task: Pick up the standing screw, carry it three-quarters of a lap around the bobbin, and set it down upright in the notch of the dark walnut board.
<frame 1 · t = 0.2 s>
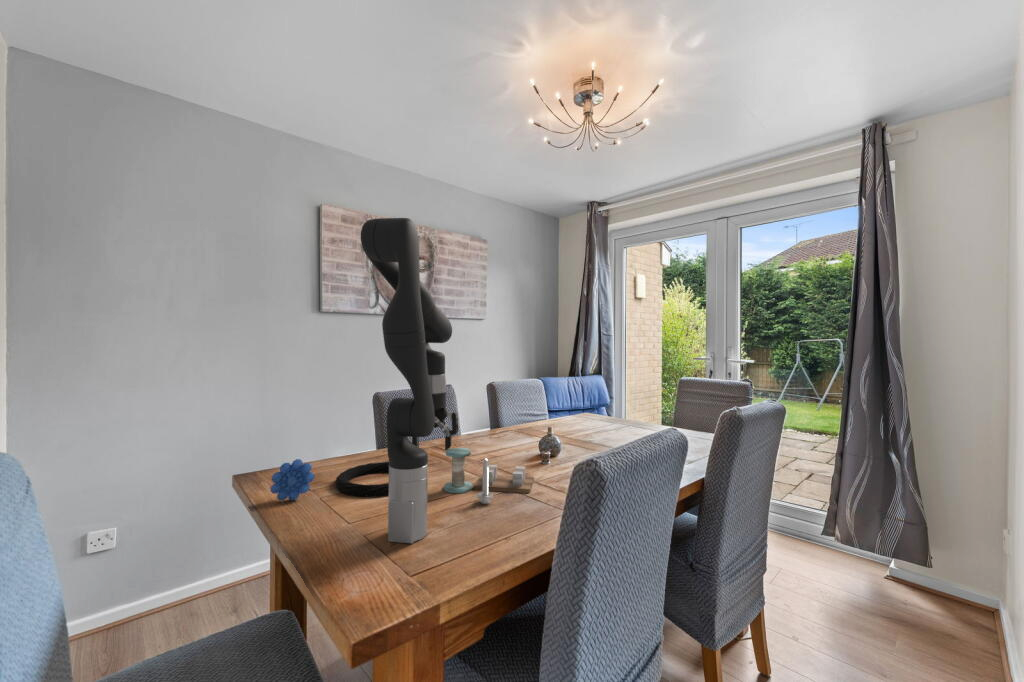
hand: (431, 448, 121), 18 cm above the table, tool pointing down, fingers open, 8 cm apart
bobbin: (458, 488, 141), on the table
blue flower: (293, 499, 130), on the table
notch board: (504, 485, 144), on the table
cable lock: (381, 483, 147), on the table
screw: (485, 503, 129), on the table
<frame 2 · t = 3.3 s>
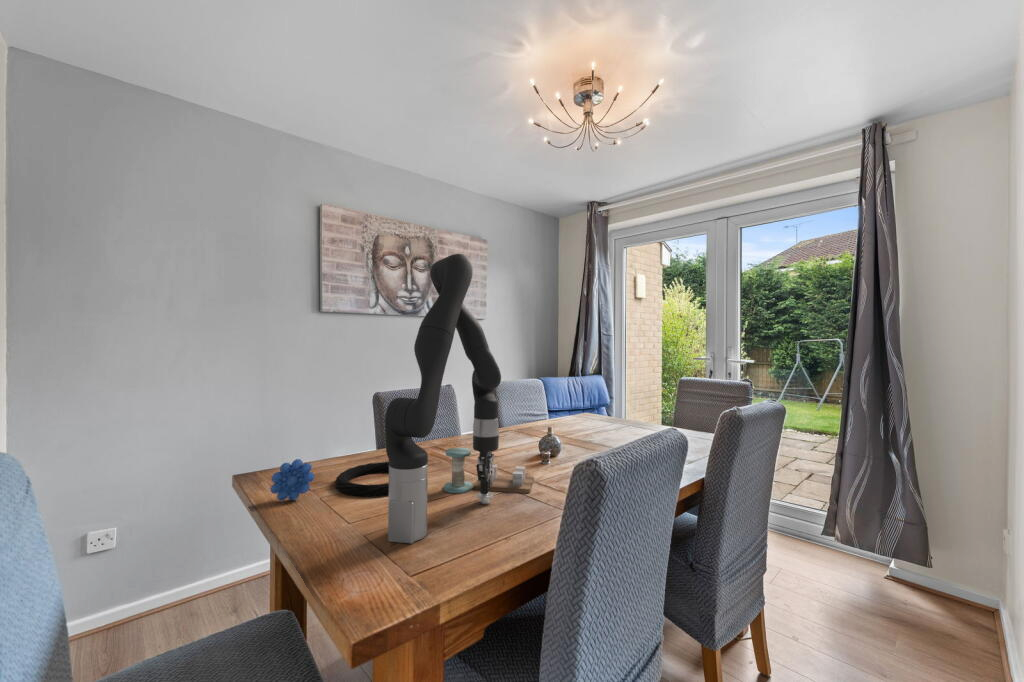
hand: (485, 491, 129), 3 cm above the table, tool pointing down, fingers closed on screw, 2 cm apart
screw: (485, 503, 129), on the table, touching gripper
everything else where it was.
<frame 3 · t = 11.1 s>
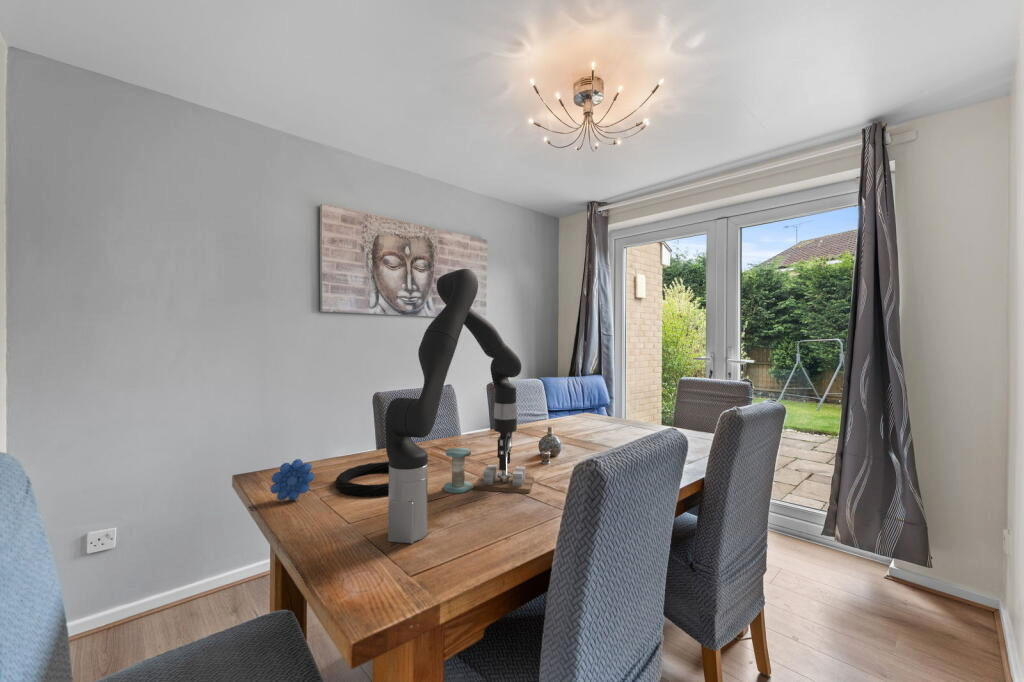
hand: (504, 466, 144), 6 cm above the table, tool pointing down, fingers open, 7 cm apart
screw: (504, 482, 144), point 1 cm above the table, touching notch board
everything else where it was.
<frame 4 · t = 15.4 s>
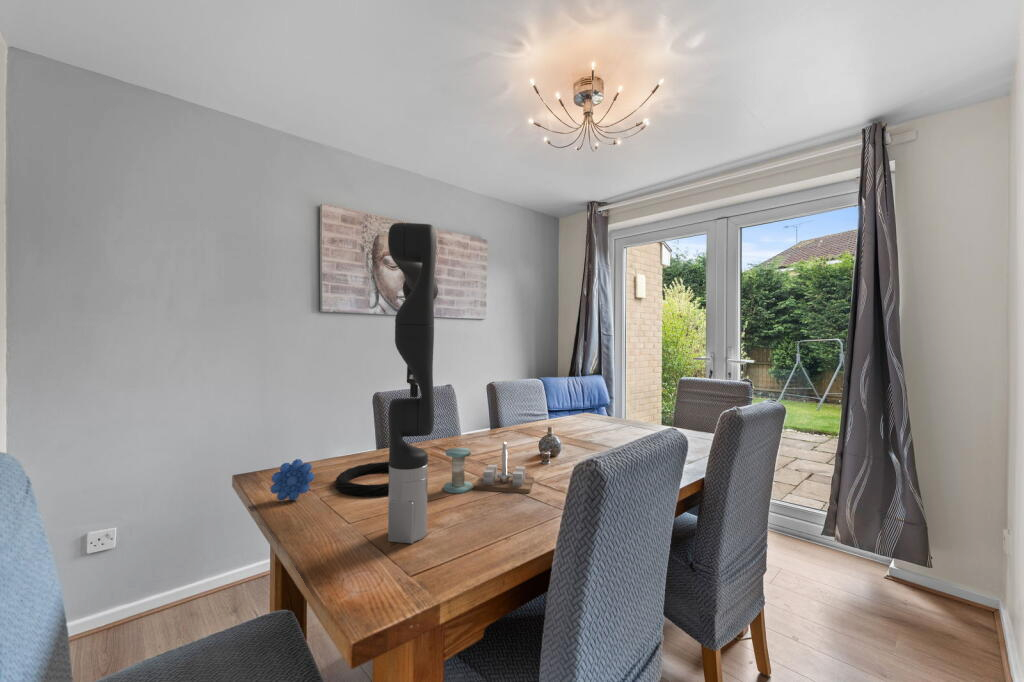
hand: (419, 395, 136), 30 cm above the table, tool pointing down, fingers open, 8 cm apart
nothing on the table moved.
at the end: screw inside the target area on the notch board (0.2 cm from its centre), point 1.0 cm above the notch board's base; screw tilted 0°; the gripper is holding nothing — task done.
